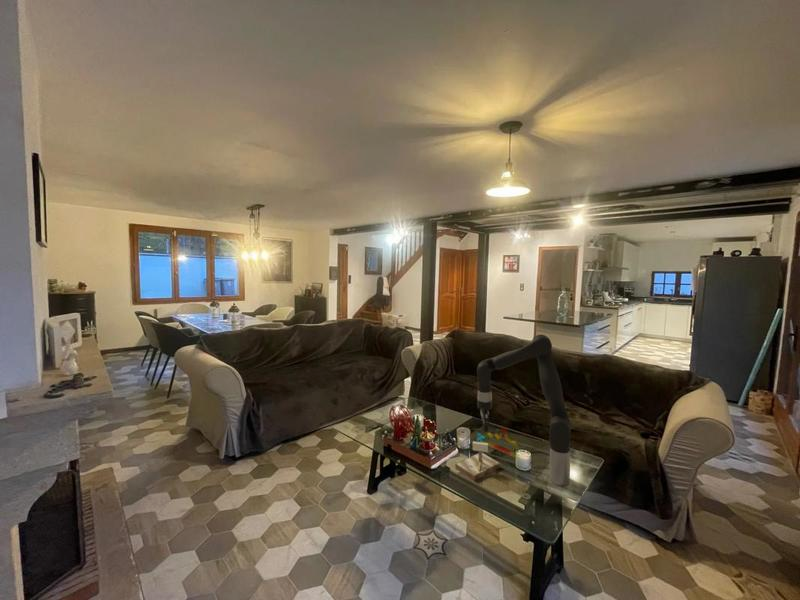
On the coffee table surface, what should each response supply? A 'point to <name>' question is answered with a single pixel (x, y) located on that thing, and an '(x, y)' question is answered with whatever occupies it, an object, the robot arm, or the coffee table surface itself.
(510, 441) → the chart
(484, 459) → the desk tray with supplies
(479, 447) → the wooden mallet
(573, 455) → the coffee table surface
